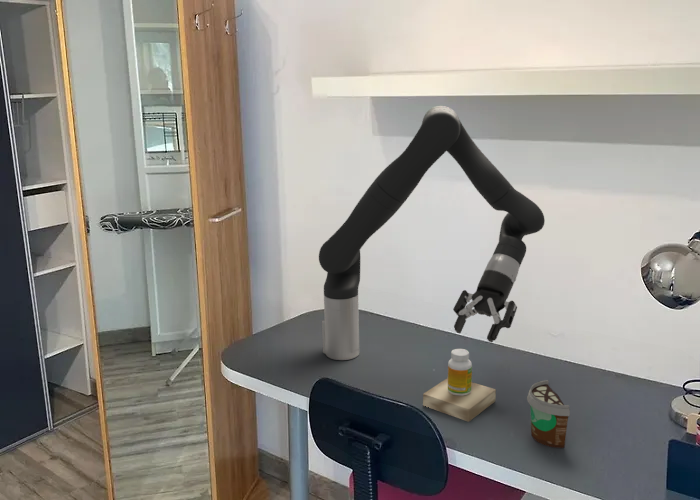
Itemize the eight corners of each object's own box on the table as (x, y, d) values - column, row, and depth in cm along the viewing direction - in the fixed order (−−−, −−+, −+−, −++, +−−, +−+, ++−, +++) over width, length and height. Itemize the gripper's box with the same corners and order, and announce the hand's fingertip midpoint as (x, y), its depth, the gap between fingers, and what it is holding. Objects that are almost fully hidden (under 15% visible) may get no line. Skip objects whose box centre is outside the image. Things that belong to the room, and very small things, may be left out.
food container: (517, 422, 146) (519, 380, 143) (544, 421, 146) (547, 379, 143) (537, 453, 134) (540, 408, 131) (567, 451, 134) (570, 406, 132)
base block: (423, 405, 154) (423, 393, 153) (450, 387, 163) (451, 375, 162) (468, 421, 146) (469, 409, 146) (495, 401, 155) (495, 389, 154)
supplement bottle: (471, 397, 151) (472, 357, 148) (446, 395, 152) (447, 356, 149) (471, 386, 156) (472, 347, 154) (448, 384, 157) (448, 346, 155)
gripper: (467, 264, 162) (440, 321, 156) (521, 274, 153) (495, 336, 148) (478, 279, 167) (452, 336, 162) (531, 290, 158) (506, 350, 153)
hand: (473, 336), depth 155 cm, fingers open, 8 cm apart
